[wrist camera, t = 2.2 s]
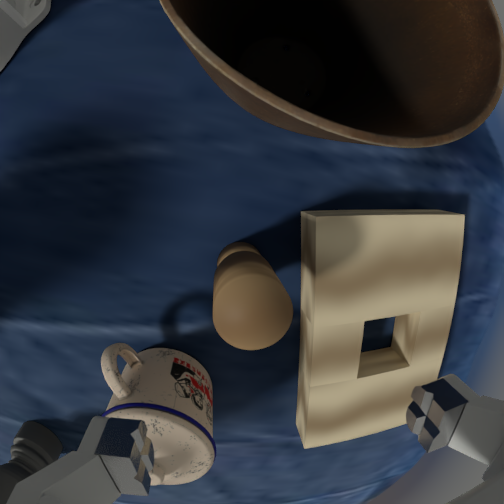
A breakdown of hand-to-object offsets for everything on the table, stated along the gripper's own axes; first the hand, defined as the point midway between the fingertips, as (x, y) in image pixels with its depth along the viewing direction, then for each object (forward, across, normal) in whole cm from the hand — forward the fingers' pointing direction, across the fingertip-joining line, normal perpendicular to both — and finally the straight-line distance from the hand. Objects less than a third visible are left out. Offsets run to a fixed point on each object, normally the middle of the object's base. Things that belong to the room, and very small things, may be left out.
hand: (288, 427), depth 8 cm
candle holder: (+18, +27, +22) cm, 39 cm away
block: (+18, -12, +6) cm, 22 cm away
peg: (+18, 0, 0) cm, 18 cm away
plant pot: (+18, -4, -16) cm, 24 cm away
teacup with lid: (+18, +8, +10) cm, 22 cm away
